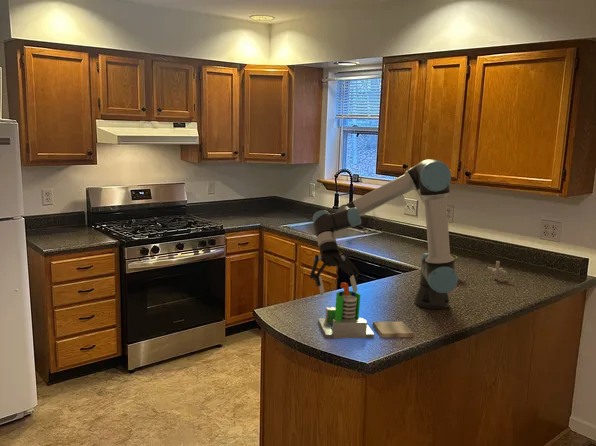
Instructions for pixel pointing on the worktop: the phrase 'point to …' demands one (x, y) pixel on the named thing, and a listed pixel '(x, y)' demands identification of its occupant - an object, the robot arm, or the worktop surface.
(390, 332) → the board
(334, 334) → the vise
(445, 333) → the worktop surface
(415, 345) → the worktop surface
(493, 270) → the pipe connector
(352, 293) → the green-shelled ribbed roller
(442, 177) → the robot arm
